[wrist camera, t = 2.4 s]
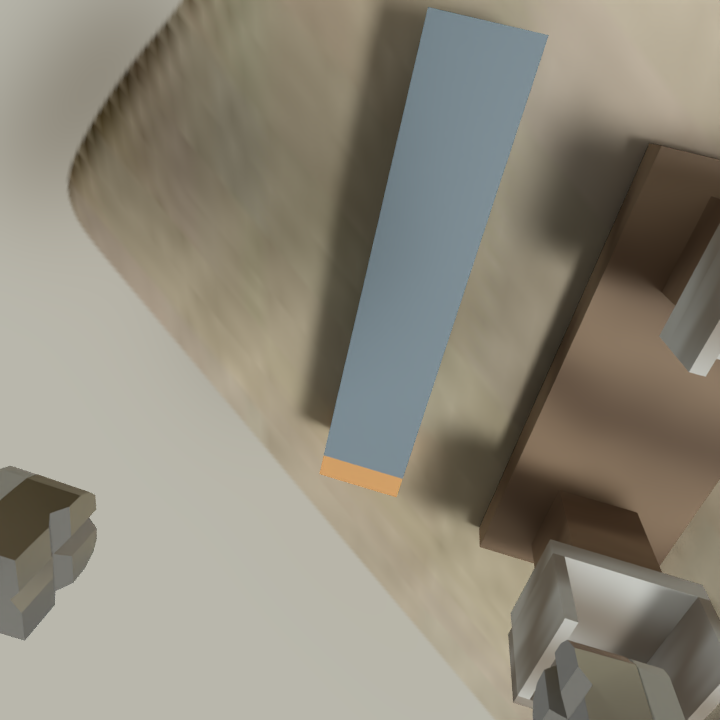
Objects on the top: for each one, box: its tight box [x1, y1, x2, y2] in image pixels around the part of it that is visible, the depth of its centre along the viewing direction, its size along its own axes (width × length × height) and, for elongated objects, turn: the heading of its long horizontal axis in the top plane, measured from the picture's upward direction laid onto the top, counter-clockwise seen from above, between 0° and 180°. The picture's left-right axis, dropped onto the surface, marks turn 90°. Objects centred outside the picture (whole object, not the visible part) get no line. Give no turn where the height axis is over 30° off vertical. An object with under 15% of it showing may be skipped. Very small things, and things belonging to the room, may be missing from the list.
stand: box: [479, 143, 720, 720], centre depth 21 cm, size 22×9×10 cm, turn 167°
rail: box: [320, 7, 548, 497], centre depth 23 cm, size 20×4×4 cm, turn 167°
